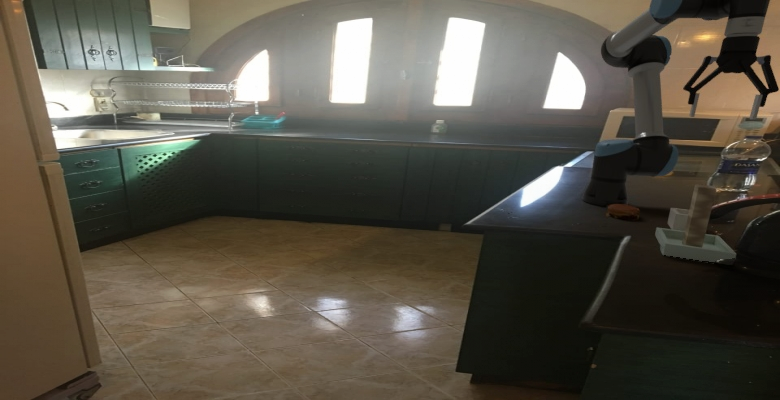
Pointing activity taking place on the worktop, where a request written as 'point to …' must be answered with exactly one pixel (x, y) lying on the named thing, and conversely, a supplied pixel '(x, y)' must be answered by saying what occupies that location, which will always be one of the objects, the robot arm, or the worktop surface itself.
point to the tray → (709, 252)
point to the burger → (623, 212)
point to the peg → (699, 215)
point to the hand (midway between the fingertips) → (721, 118)
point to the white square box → (678, 219)
